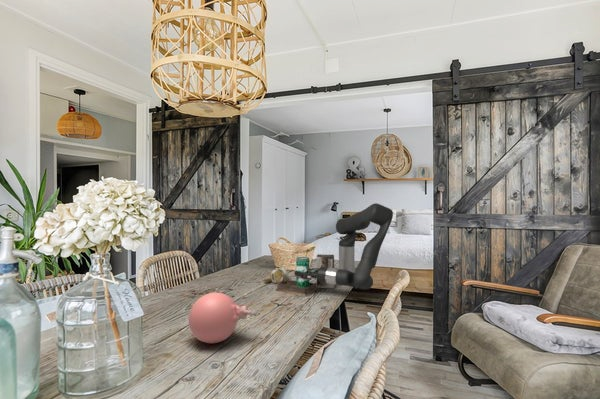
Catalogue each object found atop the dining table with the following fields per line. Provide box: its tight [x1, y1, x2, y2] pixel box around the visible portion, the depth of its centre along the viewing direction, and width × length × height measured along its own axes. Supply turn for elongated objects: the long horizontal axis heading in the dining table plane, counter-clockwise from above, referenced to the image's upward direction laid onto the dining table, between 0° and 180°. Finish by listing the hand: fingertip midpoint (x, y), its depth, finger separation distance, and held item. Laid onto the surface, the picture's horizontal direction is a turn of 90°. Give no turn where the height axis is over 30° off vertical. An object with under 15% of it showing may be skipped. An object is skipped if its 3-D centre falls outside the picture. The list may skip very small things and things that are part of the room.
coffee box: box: [316, 254, 335, 289], centre depth 169 cm, size 9×6×16 cm
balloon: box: [188, 292, 253, 344], centre depth 105 cm, size 15×20×15 cm
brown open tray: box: [275, 279, 317, 297], centre depth 162 cm, size 11×17×3 cm, turn 60°
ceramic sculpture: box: [262, 266, 289, 284], centre depth 177 cm, size 11×9×15 cm
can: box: [295, 256, 310, 288], centre depth 160 cm, size 6×6×15 cm
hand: (298, 271), depth 161 cm, fingers closed on can, 6 cm apart
